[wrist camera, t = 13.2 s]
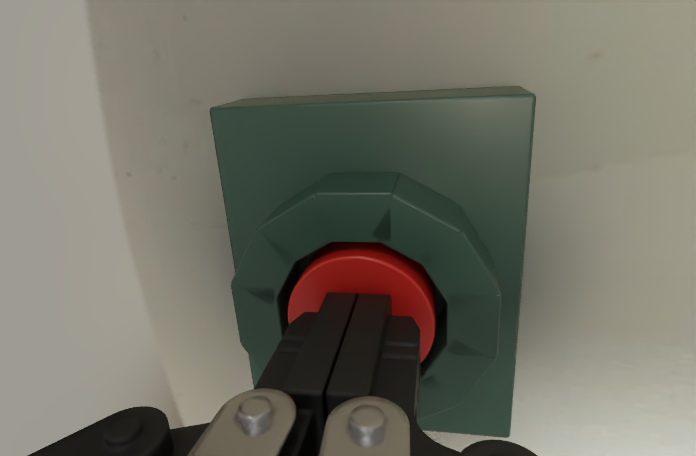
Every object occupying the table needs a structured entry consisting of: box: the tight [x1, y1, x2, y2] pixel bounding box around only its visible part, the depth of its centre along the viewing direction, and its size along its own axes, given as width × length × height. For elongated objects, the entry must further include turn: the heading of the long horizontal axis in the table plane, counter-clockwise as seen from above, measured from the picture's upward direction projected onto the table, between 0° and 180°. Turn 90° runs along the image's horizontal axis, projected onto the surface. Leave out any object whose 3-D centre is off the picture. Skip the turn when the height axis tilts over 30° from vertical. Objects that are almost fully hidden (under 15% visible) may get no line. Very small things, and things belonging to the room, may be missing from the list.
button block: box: [210, 86, 536, 438], centre depth 13 cm, size 10×8×4 cm
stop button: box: [288, 242, 436, 364], centre depth 12 cm, size 4×4×2 cm
